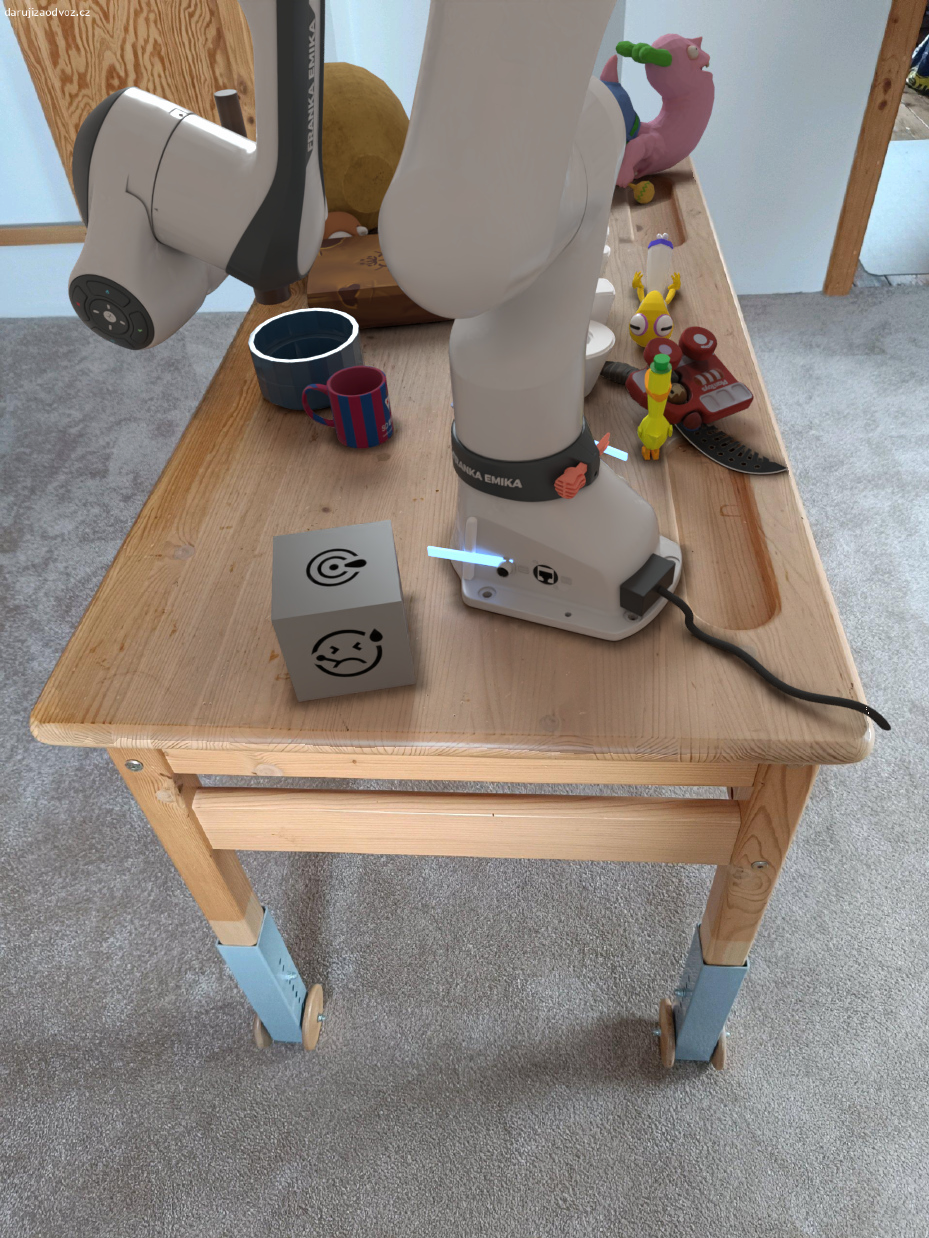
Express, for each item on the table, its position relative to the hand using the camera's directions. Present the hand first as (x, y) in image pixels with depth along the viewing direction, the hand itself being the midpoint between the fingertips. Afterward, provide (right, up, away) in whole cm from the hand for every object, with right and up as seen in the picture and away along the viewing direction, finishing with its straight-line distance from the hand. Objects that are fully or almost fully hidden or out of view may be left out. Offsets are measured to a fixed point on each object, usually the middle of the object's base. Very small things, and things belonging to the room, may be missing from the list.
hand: (249, 179), depth 86 cm
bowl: (+3, -15, +21) cm, 26 cm away
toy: (+35, +41, +50) cm, 74 cm away
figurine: (-4, +10, +40) cm, 42 cm away
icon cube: (+12, -48, -11) cm, 50 cm away
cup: (+9, -23, +13) cm, 28 cm away
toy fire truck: (+44, -15, +10) cm, 48 cm away
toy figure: (+42, -27, +6) cm, 51 cm away
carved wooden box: (+12, +2, +36) cm, 38 cm away
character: (+47, -5, +27) cm, 55 cm away
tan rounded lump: (+8, +20, +40) cm, 45 cm away
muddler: (+1, -9, +8) cm, 12 cm away
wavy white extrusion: (+33, -9, +24) cm, 42 cm away
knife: (+44, -23, +9) cm, 51 cm away
